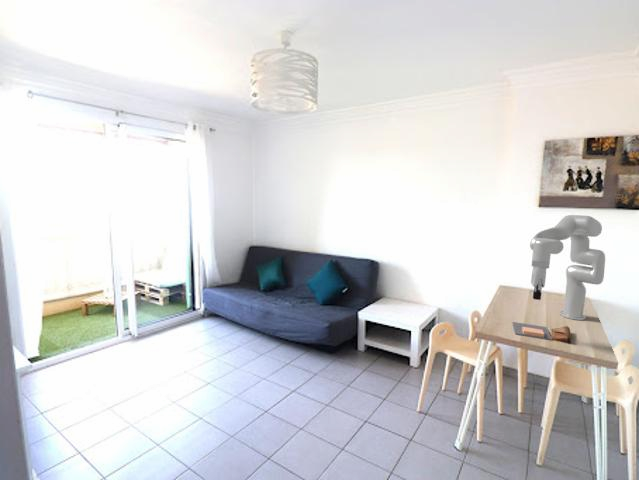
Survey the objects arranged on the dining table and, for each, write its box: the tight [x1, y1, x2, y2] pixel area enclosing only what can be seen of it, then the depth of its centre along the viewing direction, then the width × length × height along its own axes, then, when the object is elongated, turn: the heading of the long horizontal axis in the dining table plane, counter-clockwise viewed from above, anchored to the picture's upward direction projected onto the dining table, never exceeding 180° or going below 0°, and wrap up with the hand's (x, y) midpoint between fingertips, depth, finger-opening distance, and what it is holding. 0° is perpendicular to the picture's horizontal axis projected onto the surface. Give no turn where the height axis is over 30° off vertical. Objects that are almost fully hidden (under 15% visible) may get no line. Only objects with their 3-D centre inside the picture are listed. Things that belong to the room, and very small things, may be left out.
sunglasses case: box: [550, 325, 572, 345], centre depth 172 cm, size 18×7×7 cm
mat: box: [511, 321, 553, 341], centre depth 178 cm, size 18×16×1 cm
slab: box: [522, 327, 544, 338], centre depth 174 cm, size 2×9×6 cm
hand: (536, 299), depth 172 cm, fingers closed
